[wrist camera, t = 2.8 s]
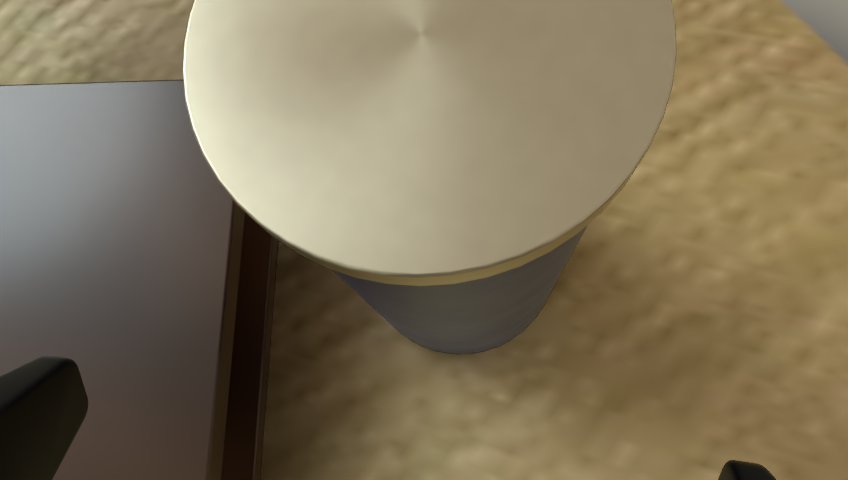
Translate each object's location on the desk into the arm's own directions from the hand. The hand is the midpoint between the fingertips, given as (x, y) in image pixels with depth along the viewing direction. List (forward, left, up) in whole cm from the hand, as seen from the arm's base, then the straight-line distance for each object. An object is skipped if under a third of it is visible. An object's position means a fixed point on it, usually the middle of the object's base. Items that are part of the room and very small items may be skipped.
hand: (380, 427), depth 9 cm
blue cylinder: (+7, -1, -11) cm, 13 cm away
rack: (+2, +10, -11) cm, 15 cm away
